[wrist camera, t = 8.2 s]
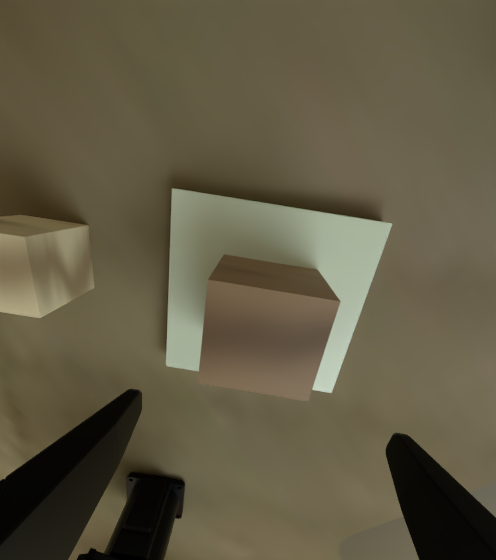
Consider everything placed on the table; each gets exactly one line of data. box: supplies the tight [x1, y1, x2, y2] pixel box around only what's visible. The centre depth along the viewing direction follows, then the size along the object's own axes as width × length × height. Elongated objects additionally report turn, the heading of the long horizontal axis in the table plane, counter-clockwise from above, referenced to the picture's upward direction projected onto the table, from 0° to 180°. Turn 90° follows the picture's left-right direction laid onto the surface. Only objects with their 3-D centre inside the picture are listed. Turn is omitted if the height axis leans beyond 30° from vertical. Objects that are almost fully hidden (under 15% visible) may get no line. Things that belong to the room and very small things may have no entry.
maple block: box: [0, 215, 94, 318], centre depth 16 cm, size 5×5×5 cm
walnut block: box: [198, 254, 341, 401], centre depth 15 cm, size 6×6×5 cm
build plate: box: [166, 188, 392, 393], centre depth 18 cm, size 14×14×1 cm
